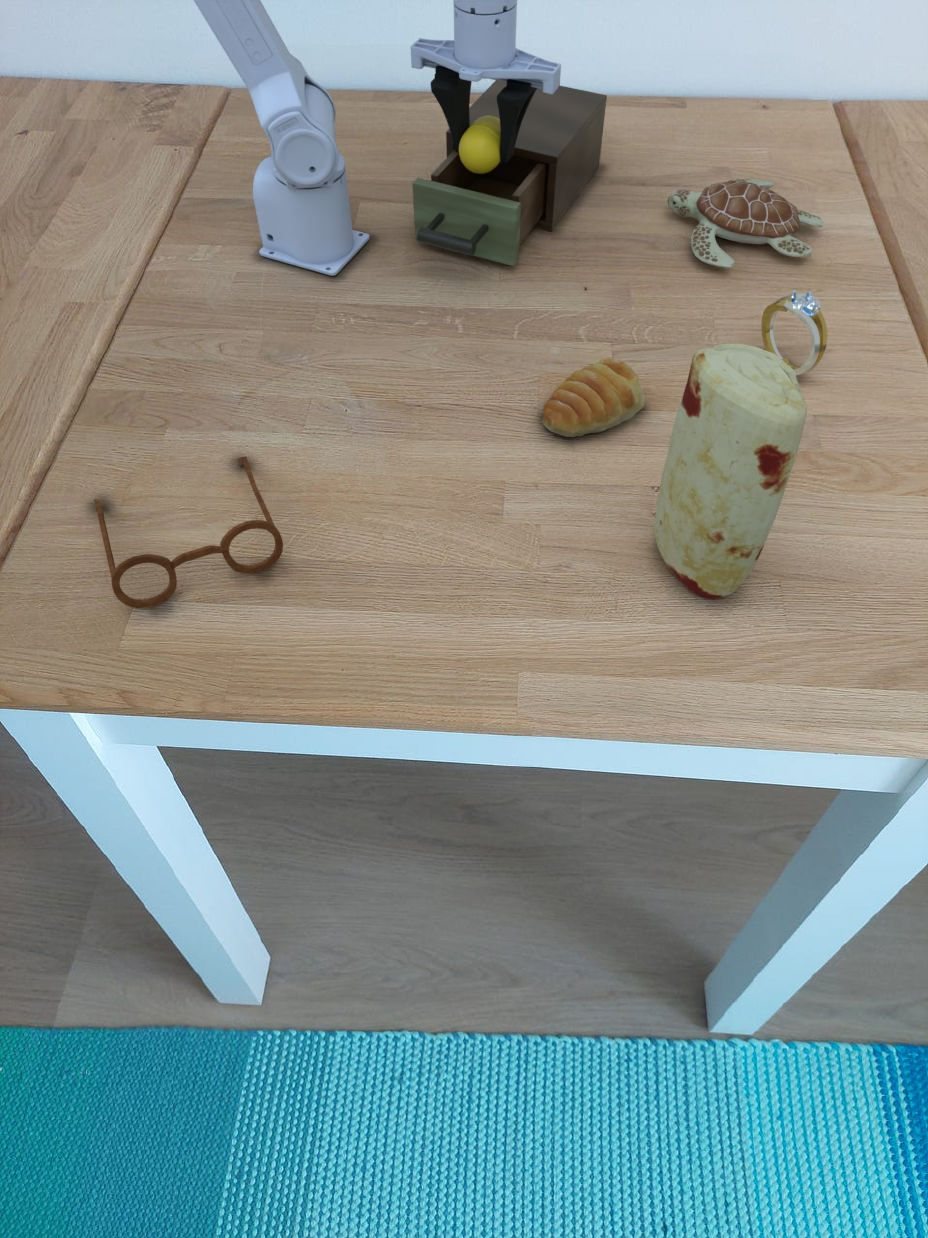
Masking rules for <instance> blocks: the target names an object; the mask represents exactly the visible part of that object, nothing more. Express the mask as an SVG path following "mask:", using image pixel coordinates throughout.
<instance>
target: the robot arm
mask: <svg viewBox="0 0 928 1238" xmlns="http://www.w3.org/2000/svg"><path fill="white" fill-rule="evenodd" d="M193 2H194V4H195V6H196V7H197V8H198V10H199V12H200V14H201V15H202V16H203V18H204V20H205V21H206V23H207V25H208V26H209V28H210V29H211V31H212V33H213V34H214V36H215V38H216V39H217V41H218V42H219V44H220V46H221V48H222V49H223V51H224V53H225V54H226V56H227V57H228V59H229V60H230V63H231V64H232V66H233V67H234V69H235V71H236V72H237V74H238V76H239V77H240V78H241V80H242V82H243V83H244V85H245V87H246V88H247V91H248V92H249V95H250V98H251V101H252V103H253V107H254V111H255V112H256V115H257V119H258V122H259V125H260V127H261V129H262V130H263V133H264V134H265V136H266V137H267V139H268V142H269V145H270V152H271V156H268V157H265V158H264V159H263V160H262V161H261V162H260V163H259V165H258V166H257V169H256V171H255V173H254V176H253V181H252V182H253V183H252V198H253V203H254V209H255V213H256V218H257V223H258V228H259V234H260V239H261V244H262V247H261V248H260V249H259V250H258V252H259V253H258V254H259V255H260V256H261V257H264V258H267V259H271V260H274V261H278V262H281V263H285V264H289V265H292V266H295V267H299V268H303V269H306V270H310V271H313V272H317V273H320V274H324V275H327V276H331V277H334V276H337V275H338V274H339V273H340V271H342V269H343V268H345V266H346V265H347V264H348V263H349V262H350V261H351V260H352V259H353V258H354V257H355V256H356V255H357V253H358V252H359V251H360V250H361V249H362V248H363V247H364V246H365V245H366V244H367V243H368V242H369V241H370V239H371V238H370V234H369V233H367V232H362V231H359V230H355V229H353V220H352V212H351V203H350V195H349V186H348V185H349V184H348V177H347V169H346V160H345V158H344V155H342V154H341V153H340V152H339V149H338V145H337V136H336V114H337V113H336V112H337V111H336V107H335V105H336V104H335V103H334V100H333V98H332V96H331V95H330V93H329V92H328V91H327V89H325V87H324V86H323V85H321V84H320V83H318V81H315V80H314V79H313V78H312V77H311V76H310V75H309V74H308V72H307V70H306V69H305V67H304V64H303V62H301V61H300V60H299V59H298V58H297V57H295V56H294V55H293V54H292V53H291V52H290V50H289V49H288V48H287V45H286V43H285V42H284V40H283V38H282V36H281V35H280V33H279V31H278V29H277V27H276V25H275V24H274V22H273V20H272V18H271V16H270V15H269V14H268V11H267V9H266V7H265V6H264V4H263V3H262V2H263V1H261V0H193ZM517 15H518V0H453V39H428V38H421V37H419V38H418V39H417V40H416V41H414V43H412V44H411V45H410V63H411V64H410V65H411V69H418V70H422V69H424V68H430V69H434V70H435V71H434V72H435V73H434V77H433V79H432V80H431V81H430V90H431V93H432V95H433V97H434V98H435V99H436V101H437V103H438V104H439V107H440V109H441V110H442V113H443V115H444V117H445V120H446V123H447V126H448V129H450V132H451V136H452V140H453V144H454V148H455V152H458V153H459V144H460V140H461V138H462V136H463V134H464V133H465V132H466V130H467V129H468V128H469V127H470V118H469V108H470V102H471V90H472V82H474V83H477V82H480V81H481V80H482V79H484V80H485V79H489V80H493V81H496V80H498V81H503V82H507V86H506V87H504V88H503V89H502V90H501V92H500V93H499V94H498V95H497V104H498V109H499V117H500V129H501V135H500V162H505V163H507V162H508V161H509V160H510V158H511V157H512V156H513V154H514V150H515V145H516V140H517V136H518V133H519V129H520V126H521V123H522V120H523V118H524V115H525V113H526V110H527V108H528V106H529V104H530V101H531V99H532V97H533V95H534V93H535V91H536V90H537V88H540V89H543V92H544V93H547V94H553V93H554V92H555V91H556V90H557V89H558V87H559V86H561V75H562V64H561V63H558V62H553V61H551V60H547V59H544V58H541V57H540V56H536V55H534V54H532V53H529V52H526V51H524V50H521V49H518V48H516V46H517V44H516V43H517V39H516V38H517V19H518V18H517Z"/></svg>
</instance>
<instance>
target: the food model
mask: <svg viewBox="0 0 928 1238" xmlns="http://www.w3.org/2000/svg"><path fill="white" fill-rule="evenodd" d="M690 363H691V364H690V368H689V373H688V376H687V381H686V384H685V387H684V390H683V394H682V396H681V400H680V403H679V406H678V409H677V412H676V416H675V419H674V423H673V426H672V430H671V435H670V440H669V444H668V448H667V454H666V458H665V463H664V466H663V471H662V475H661V479H660V483H659V487H658V493H657V500H656V509H655V515H654V516H655V517H654V519H653V521H654V522H653V525H652V529H653V530H652V531H653V536H654V540H655V542H656V546H657V549H658V551H659V553H660V556H661V558H662V560H663V561H664V563H665V565H666V566H667V568H668V569H669V571H670V572H671V573H672V575H674V577H675V578H676V579H677V580H678V581H679V582H680V583H681V584H682V585H683V586H685V587H686V588H687V589H688V590H689V591H690V592H691V593H694V594H696V595H698V596H700V597H701V598H706V599H710V600H717V599H721V598H725V597H728V596H730V595H732V594H733V593H735V591H737V589H738V588H740V586H741V585H742V584H743V583H744V581H746V579H747V578H748V576H749V575H750V574H751V572H752V571H753V570H754V568H755V566H756V564H757V561H758V559H759V558H760V556H761V553H762V551H763V549H764V547H765V544H766V542H767V539H768V537H769V535H770V532H771V530H772V526H773V524H774V522H775V519H776V517H777V514H778V511H779V508H780V506H781V504H782V500H783V497H784V495H785V492H786V489H787V487H788V483H789V479H790V477H791V474H792V471H793V467H794V464H795V460H796V457H797V454H798V450H799V447H800V443H801V439H802V437H803V433H804V428H805V424H806V420H807V415H808V405H807V403H806V402H807V401H806V400H805V398H804V397H803V395H802V394H801V392H800V386H799V381H798V378H797V376H796V375H795V372H794V370H793V369H792V368H791V367H790V366H789V365H787V364H786V363H785V362H784V361H783V360H781V359H780V358H779V357H778V356H777V355H775V354H774V353H771V352H768V351H766V349H763V348H760V347H758V346H753V345H749V344H745V343H722V344H717V345H714V346H710V347H706V348H700V349H698V350H697V351H695V353H694V354H693V356H692V359H691V362H690Z"/></svg>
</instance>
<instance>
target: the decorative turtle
mask: <svg viewBox="0 0 928 1238" xmlns="http://www.w3.org/2000/svg"><path fill="white" fill-rule="evenodd" d="M772 187H774V182H772V181H770V180H763V179H755V178H754V179H753V178H751V179H750V178H742V179H741V178H740V179H739V178H738V179H737V178H736V179H730V180H726V181H721V182H716V183H712V184H710V185H709V186H706V187H705V188H703V189H702V191H695V190H690V189H682V188H681V189H677V190H675V191H674V192H673V193H672V194H671V195H669V196H668V198H667V206H668V208H669V209H670V210H671V211H672V212H673V213H675V214H676V215H677V216H680V217H685V218H694V219H695V220H696V221H698V224H697V225H696V226H695V227H694V228H693V231H692V233H691V235H690V248H691V251H692V252H693V255H694V256H695V257H696V258H697V259H698V260H700V261H701V262H703V263H705V264H706V265H707V264H708V265H710V266H713V267H717V268H718V267H719V268H723V269H730V268H732V267H733V266H734V265H735V260H734V259H733V258H732V257H731V256H730V255H729V254H728V253H726V252H725V251H724V250H723V249H722V248H721V247H720V246H719V244H718V243H717V240H716V237H718V238H721V239H724V240H725V239H726V240H728V241H733V242H736V243H741V244H750V245H751V244H752V245H764V244H769V245H770V246H771V247H772V248H773V249H774V250H775V251H777V252H778V253H779V254H782V255H784V256H787V257H791V258H792V257H793V258H806V257H808V256H810V255H811V253H812V252H813V248H812V247H811V246H810V245H808V243H805V242H803V241H801V240H800V239H798V238H796V237H794V236H793V235H795V234H796V233H797V232H798V231H799V228H800V226H801V224H804V225H807V226H810V227H817V228H821V227H823V226H824V223H825V222H824V220H823V219H822V218H821V217H820V216H817V215H815V214H812V213H810V212H807V211H806V210H805V211H804V210H802V209H798V208H797V206H795V205H794V204H792V203H791V202H790V201H788V200H787V199H786V198H785V197H783V196H781V195H780V194H778V193H776V192H775V191H773V190H771V189H772Z"/></svg>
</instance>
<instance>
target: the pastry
mask: <svg viewBox="0 0 928 1238" xmlns="http://www.w3.org/2000/svg"><path fill="white" fill-rule="evenodd" d="M645 405H646V397H645V395H644V389H643V387H642V385H641V384H640V380H639V376H638V374H637V373H636V372H635V370H633V368H632V366H630V365H628V364H627V363H626V362H625V361H623V360H621V359H615V358H612V357H606V358H603V359H600V360H599V361H597V362H596V363H594V364H590V365H588V366H587V365H586V366H585V367H583V368H581V369H580V370H579V369H578V370H577V371H575V372H573V373H572V374H571V375H569V376H568V377H566V379H565V380H564V381H563V382H562V383H560V384H559V385H558V387H557V388H556V389H555V390H554V391H553V393H552V395H551V397H549V399H548V400H547V401H546V402H545V404H544V405H543V417H542V425H543V426H544V427H545V428H546V429H547V430H549V431H550V432H552V433H554V434H557V435H560V436H562V437H565V438H575V437H584V436H585V435H587V434H588V435H589V434H598V433H601V432H602V433H603V432H605V431H606V430H608V429H609V430H610V429H612V428H614V427H616V426H618V425H620V424H621V423H623V422H625V421H628V420H630V419H632V418H633V417H634V416H635V415H636V414H637V413H639V412H640V411H641V410H642V409H643V408H644V407H645Z"/></svg>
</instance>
